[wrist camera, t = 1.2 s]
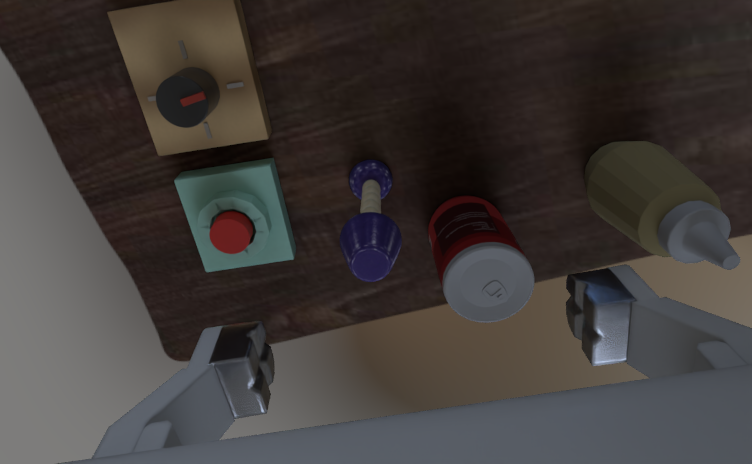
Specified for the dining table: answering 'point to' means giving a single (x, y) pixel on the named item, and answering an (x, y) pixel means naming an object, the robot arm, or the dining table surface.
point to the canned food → (479, 260)
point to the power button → (231, 232)
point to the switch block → (241, 194)
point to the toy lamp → (370, 224)
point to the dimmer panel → (200, 50)
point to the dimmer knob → (187, 97)
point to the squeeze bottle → (658, 203)
